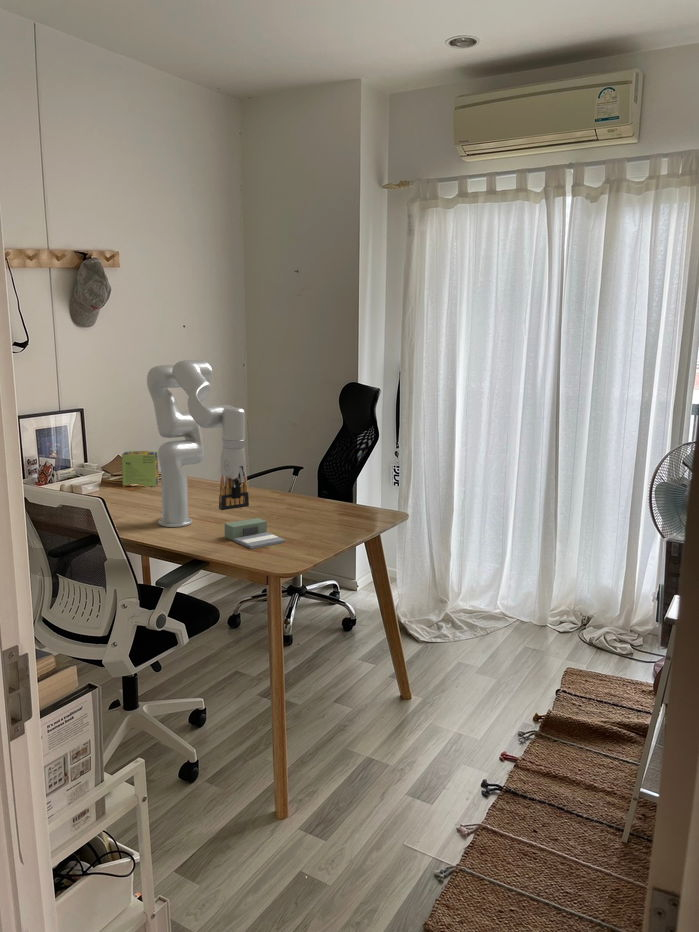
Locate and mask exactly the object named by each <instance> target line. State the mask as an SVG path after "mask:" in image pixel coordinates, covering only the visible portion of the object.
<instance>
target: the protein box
mask: <svg viewBox="0 0 699 932" xmlns="http://www.w3.org/2000/svg"><path fill="white" fill-rule="evenodd" d="M121 469H122V471H121V472H122V486H123V485H128V484H139V485H144V486H156V485H157V486H158V484H159V483H158V482H160V481H159V458H158V450H130V451H129V450H126V451H124V452H123V453H122V454H121ZM157 486H156V487H157Z"/></svg>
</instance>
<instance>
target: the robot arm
mask: <svg viewBox="0 0 699 932" xmlns="http://www.w3.org/2000/svg"><path fill="white" fill-rule="evenodd" d="M213 374H214V372H213V368H212V367H211V365H210V364H209V362H207V361H206V360H203V359H202V360H201V359H190V360H189V359H186V360H179V361H178V362H176V363H175V364H162V365H161V364H160V365H156V366H153V367H152V368H150V369H149V370H148V372H147V375H146V384H147V389H148V392H149V395H150V397H151V399H152V403H153V407H154V408H153V409H154V414H155V419H156V426H157V430H158V433H159V435H160V437H162V438H164V439H171V438H184V440H181V439H180V440H172V441H167V442H164V443H162V444H161V445H160V446H159V447H158V450H157V451H158V463H159V467H160V474H161V475H160V477H161V478H160V479H161V508H162V509H161V512H160V513H161V514H162V515H161V517H162V518H159V520H157V521H158V525H159V526H162V527H167V528H179V527H186V526H189V525H191V524H192V523H193V519H192V518H191V517H189V503H188V501H189V500H188V476H187V474H186V473H185V471H184V469H183V466H190V465H197V464H199V463H201V462H203V459H204V456H205V448H204V447H205V446H204V440H203V434H202V430H201V428H203V429H215V428H222V448H221V449H222V450H221V456H220V475H221V476H222V475H223V477H224V479H226V475H227V477H228V478H229V486H230V479H233V487H231V495H232V499H237V498H240V497H241V484H242V483H243V482H244V478H245V476H246V475H247V460H246V451H245V450H246V412H245V409H243V408H242V407H234V406H233V405H229V404H221V405H220V404H218V405H217V404H216V405H206V406H205V404H203V403H202V402H203V401H205V399H206V398H208V397H209V396H210V394H211V391H212V386H211V384H210V381H212V378H213ZM169 388H171V389H173V388H176V389H177V388H182V390H183V391H184V392H185V394H186V395H188V397H187V410H188V411H180V410H179V407H178V403H177V398H176V397H175V395H174V394H173V393H172V391H170V390H169ZM237 477H238V478H237ZM236 480H237V481H236Z"/></svg>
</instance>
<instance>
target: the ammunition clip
mask: <svg viewBox="0 0 699 932" xmlns="http://www.w3.org/2000/svg"><path fill="white" fill-rule="evenodd" d="M220 477H221V478H220V484H219V498H218V502H219V503H218V510H220V511H225V510H234V509H239V508H245V507H246V508H247V507H250V501H249V500H250V498H249V492H248V491H249V489H248V476H247V474H246V476H245V478H244V482H243V483H242V484H241V497H240V498H237V499H232V495H231V487H233V479H230V486H229V478H228V477H227V475H226V478H225V477H224V476H223V475H221V476H220ZM237 478H239V477H237ZM236 481H237V480H236Z"/></svg>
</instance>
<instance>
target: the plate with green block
mask: <svg viewBox="0 0 699 932" xmlns="http://www.w3.org/2000/svg"><path fill="white" fill-rule="evenodd" d="M267 523H268V521H267V520H264V519H263V518H260V517H255V518H250V519H244V520H237V521H231V522H226V523H224V537H225V538H226V539H228V540H230V541H233V542H234V543H237V544H239V545H242V546H243V547H246V548H248V549H250V550H253V549H259V548H264V547H269V546H274V545H279V544H284V543H286V539H285V538H282V537H280V536H278V535H275V534H273V533H270V532H268V531H267V530H268V528H267V527H268V524H267Z"/></svg>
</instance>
